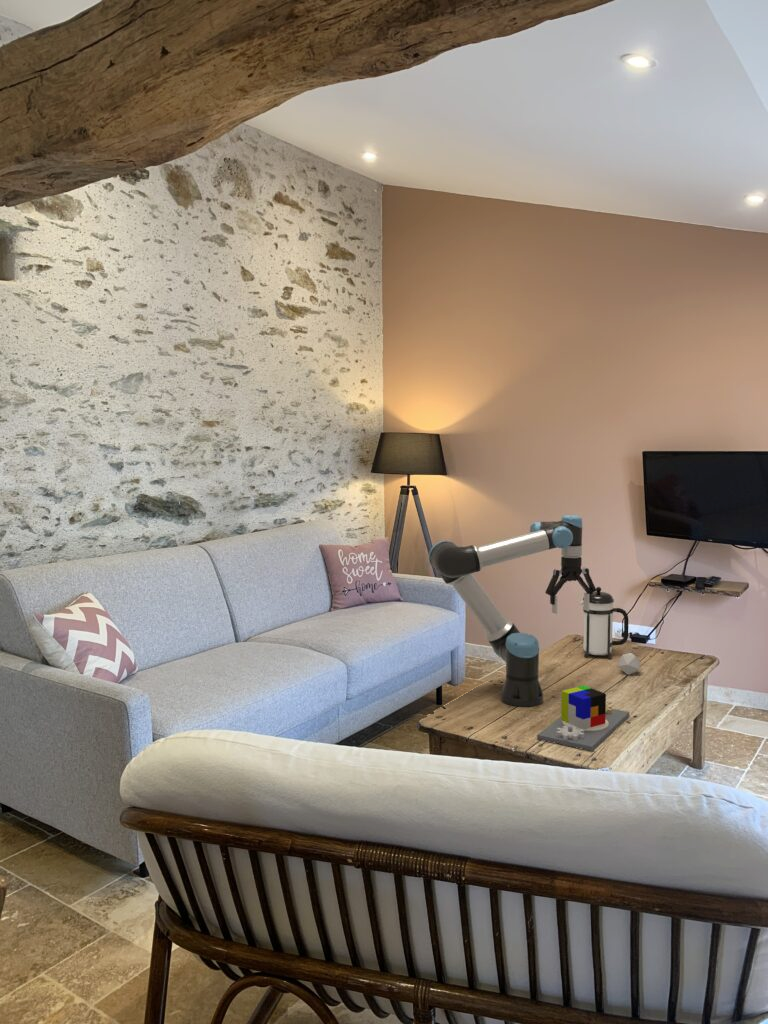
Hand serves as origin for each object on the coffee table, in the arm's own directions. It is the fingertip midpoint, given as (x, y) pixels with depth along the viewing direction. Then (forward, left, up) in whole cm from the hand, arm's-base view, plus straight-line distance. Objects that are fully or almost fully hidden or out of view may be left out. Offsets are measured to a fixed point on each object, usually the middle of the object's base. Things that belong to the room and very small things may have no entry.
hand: (570, 611), depth 311 cm
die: (+30, +5, -29) cm, 42 cm away
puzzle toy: (-18, -41, -27) cm, 52 cm away
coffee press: (+33, +31, -29) cm, 54 cm away
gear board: (-18, -41, -29) cm, 53 cm away
